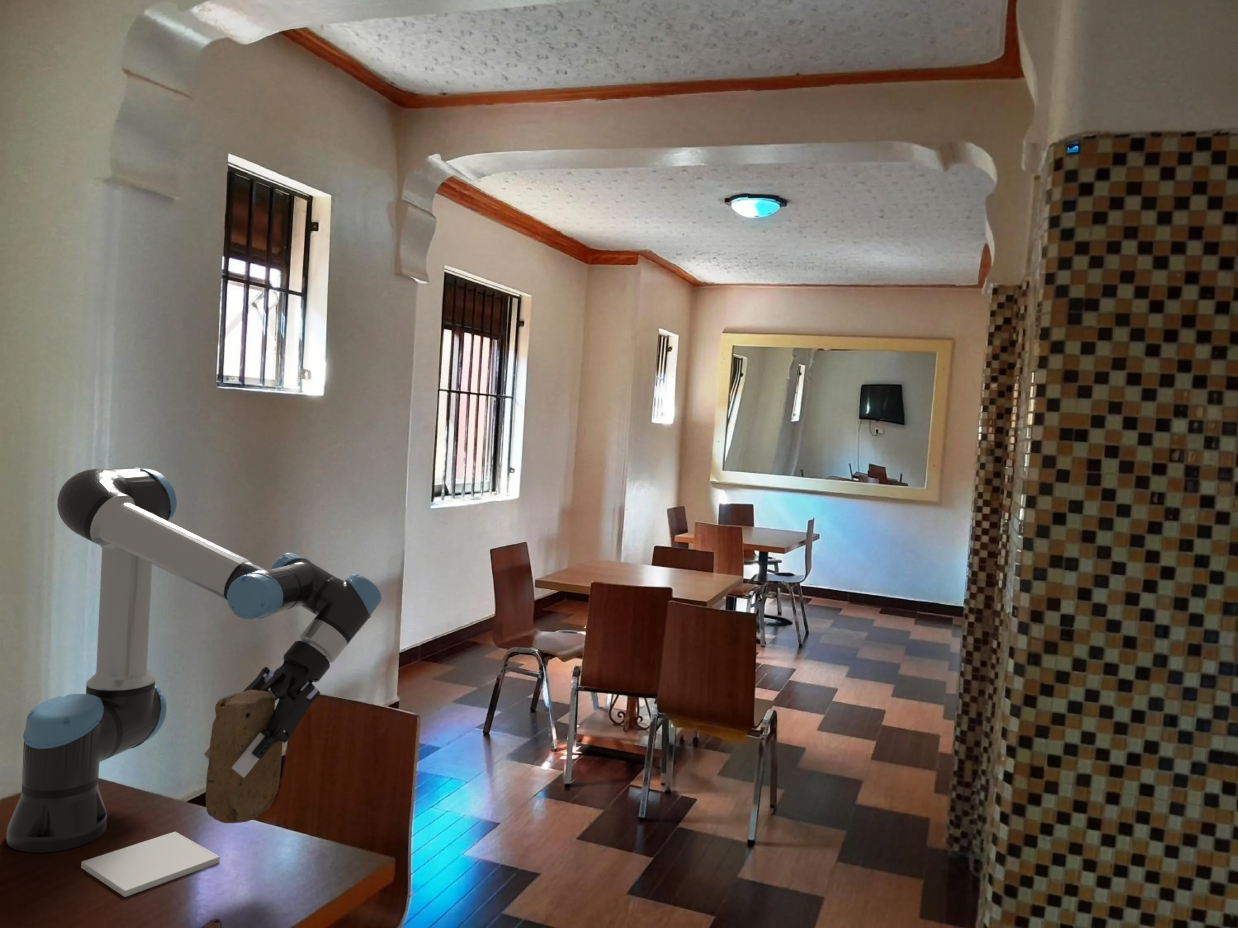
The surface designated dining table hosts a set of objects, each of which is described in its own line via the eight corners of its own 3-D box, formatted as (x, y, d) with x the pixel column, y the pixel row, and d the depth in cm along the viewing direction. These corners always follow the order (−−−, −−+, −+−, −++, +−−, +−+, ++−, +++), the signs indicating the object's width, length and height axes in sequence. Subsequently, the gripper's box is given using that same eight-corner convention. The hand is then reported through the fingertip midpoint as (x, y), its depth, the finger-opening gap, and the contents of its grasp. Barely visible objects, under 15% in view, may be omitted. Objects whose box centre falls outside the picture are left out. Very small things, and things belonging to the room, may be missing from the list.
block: (229, 830, 144) (239, 705, 144) (198, 817, 148) (207, 695, 147) (284, 808, 154) (293, 691, 153) (253, 796, 157) (262, 682, 157)
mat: (81, 867, 151) (81, 861, 151) (174, 836, 164) (175, 831, 164) (124, 896, 143) (125, 890, 143) (219, 862, 156) (219, 856, 156)
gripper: (364, 677, 156) (274, 796, 143) (289, 652, 168) (200, 759, 155) (341, 651, 152) (246, 771, 139) (266, 627, 163) (172, 735, 150)
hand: (222, 765), depth 147 cm, fingers closed on block, 8 cm apart
